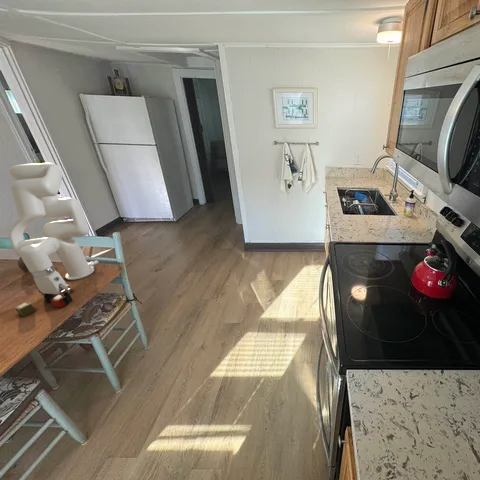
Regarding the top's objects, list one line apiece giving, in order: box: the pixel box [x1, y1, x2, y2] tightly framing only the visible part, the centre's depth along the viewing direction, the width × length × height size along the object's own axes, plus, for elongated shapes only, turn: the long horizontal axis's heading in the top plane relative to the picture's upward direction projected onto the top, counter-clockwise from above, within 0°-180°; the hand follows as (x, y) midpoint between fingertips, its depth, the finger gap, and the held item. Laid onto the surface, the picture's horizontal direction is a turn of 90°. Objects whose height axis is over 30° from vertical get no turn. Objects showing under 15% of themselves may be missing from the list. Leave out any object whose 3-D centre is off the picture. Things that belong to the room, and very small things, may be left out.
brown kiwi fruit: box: [17, 257, 29, 272], centre depth 151 cm, size 7×7×9 cm
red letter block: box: [50, 295, 65, 308], centre depth 125 cm, size 4×4×4 cm
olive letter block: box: [14, 301, 36, 317], centre depth 120 cm, size 4×4×4 cm
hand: (60, 301), depth 125 cm, fingers open, 8 cm apart
